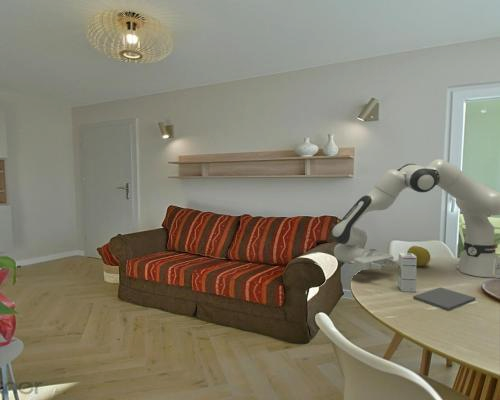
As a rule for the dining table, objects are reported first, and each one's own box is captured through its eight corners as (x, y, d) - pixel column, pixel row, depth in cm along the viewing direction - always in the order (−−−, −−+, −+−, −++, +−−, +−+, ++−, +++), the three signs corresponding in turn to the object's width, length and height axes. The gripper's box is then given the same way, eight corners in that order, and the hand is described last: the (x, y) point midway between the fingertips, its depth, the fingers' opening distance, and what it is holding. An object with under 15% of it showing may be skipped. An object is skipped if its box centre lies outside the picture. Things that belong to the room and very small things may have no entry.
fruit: (429, 269, 162) (430, 249, 161) (405, 266, 168) (405, 247, 167) (430, 264, 171) (431, 245, 170) (407, 261, 177) (408, 243, 176)
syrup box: (416, 292, 132) (417, 256, 131) (400, 291, 134) (401, 255, 132) (412, 287, 138) (413, 252, 137) (397, 286, 139) (398, 252, 138)
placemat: (440, 289, 135) (440, 287, 135) (475, 300, 124) (475, 297, 124) (413, 298, 126) (413, 296, 126) (448, 310, 115) (448, 308, 115)
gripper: (347, 254, 149) (372, 261, 137) (377, 248, 159) (403, 254, 147) (347, 268, 149) (372, 276, 138) (377, 261, 160) (403, 268, 148)
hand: (389, 265), depth 143 cm, fingers open, 8 cm apart
